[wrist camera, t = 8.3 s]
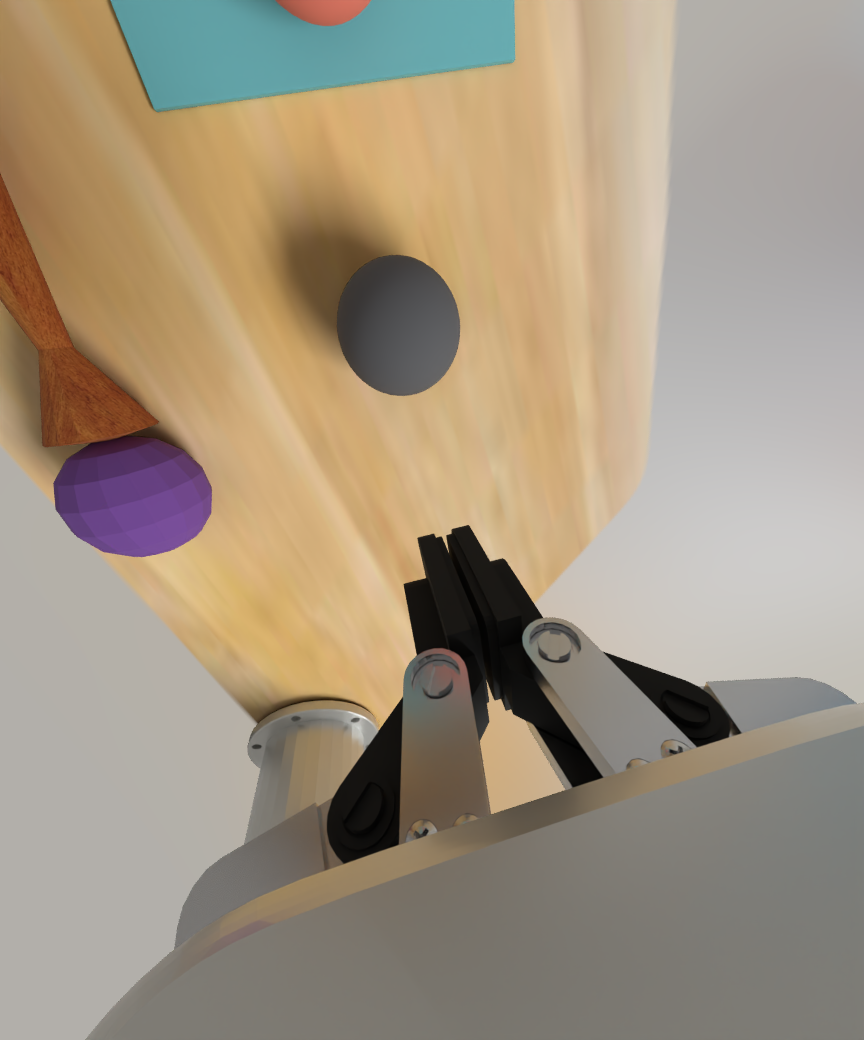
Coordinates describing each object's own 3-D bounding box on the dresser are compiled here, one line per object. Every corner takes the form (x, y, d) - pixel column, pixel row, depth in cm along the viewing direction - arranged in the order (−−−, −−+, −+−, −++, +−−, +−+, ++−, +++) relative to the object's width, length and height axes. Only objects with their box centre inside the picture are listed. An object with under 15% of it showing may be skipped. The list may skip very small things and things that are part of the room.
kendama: (-159, -191, 7) (220, 556, 17) (22, 31, 13) (236, 511, 22) (-625, -279, 6) (76, 596, 15) (-205, 13, 11) (130, 537, 20)
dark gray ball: (479, 264, 12) (440, 234, 15) (322, 286, 11) (318, 250, 15) (474, 406, 16) (444, 357, 20) (358, 427, 15) (349, 373, 19)
